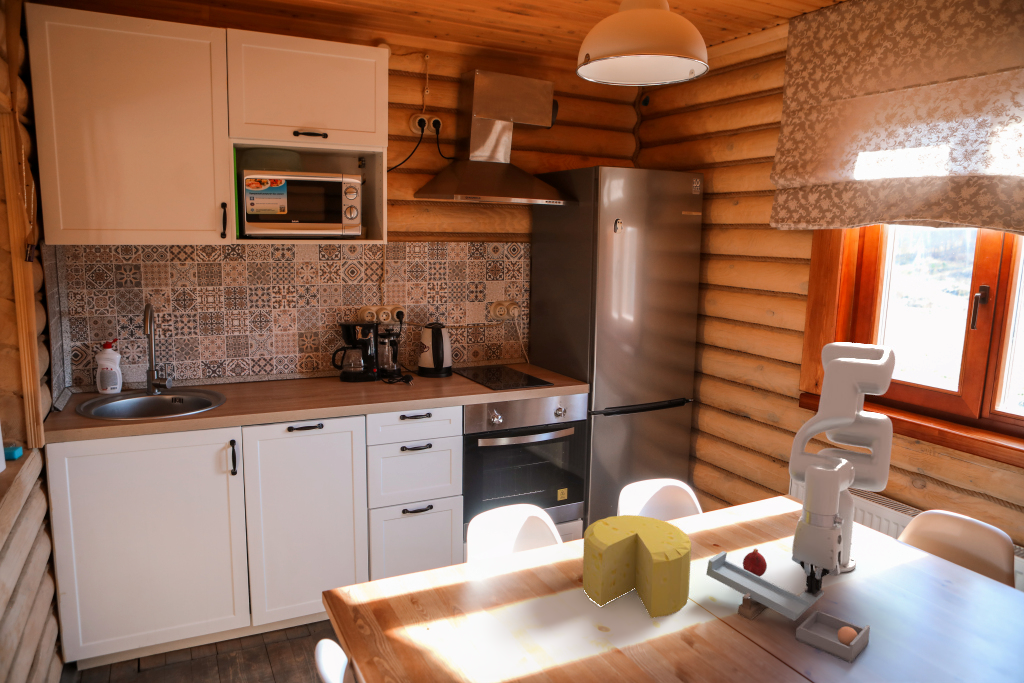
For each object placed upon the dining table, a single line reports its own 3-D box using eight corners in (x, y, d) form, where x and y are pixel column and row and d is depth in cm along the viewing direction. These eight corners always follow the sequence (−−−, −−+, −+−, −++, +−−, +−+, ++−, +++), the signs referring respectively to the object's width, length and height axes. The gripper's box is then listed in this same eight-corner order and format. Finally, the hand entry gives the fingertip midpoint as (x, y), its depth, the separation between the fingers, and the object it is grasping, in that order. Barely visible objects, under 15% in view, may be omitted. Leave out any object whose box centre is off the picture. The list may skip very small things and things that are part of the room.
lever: (738, 553, 176) (740, 540, 175) (823, 594, 161) (826, 580, 160) (703, 576, 164) (705, 562, 163) (791, 623, 149) (795, 607, 148)
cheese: (619, 628, 152) (621, 566, 150) (563, 576, 176) (565, 521, 173) (711, 604, 163) (714, 545, 160) (647, 557, 186) (649, 505, 184)
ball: (848, 619, 147) (865, 635, 145) (837, 630, 149) (853, 646, 147) (841, 627, 144) (858, 642, 142) (830, 638, 146) (846, 653, 144)
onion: (767, 585, 172) (769, 555, 171) (743, 582, 173) (745, 553, 172) (763, 574, 177) (765, 545, 176) (740, 571, 179) (742, 543, 177)
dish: (814, 621, 156) (815, 605, 155) (868, 642, 147) (870, 625, 147) (795, 639, 149) (796, 622, 148) (851, 663, 140) (852, 645, 140)
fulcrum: (757, 598, 165) (758, 581, 164) (770, 603, 163) (771, 586, 162) (737, 614, 158) (738, 596, 158) (750, 619, 156) (752, 601, 155)
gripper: (859, 522, 154) (852, 598, 157) (794, 504, 165) (788, 575, 167) (847, 531, 149) (840, 609, 152) (780, 511, 160) (775, 585, 162)
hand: (813, 591), depth 159 cm, fingers closed
